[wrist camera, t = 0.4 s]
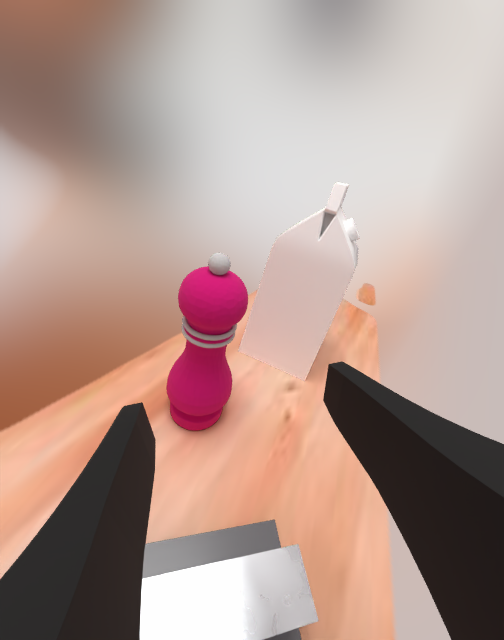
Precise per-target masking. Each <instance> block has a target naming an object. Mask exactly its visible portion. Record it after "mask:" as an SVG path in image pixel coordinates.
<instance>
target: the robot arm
mask: <svg viewBox="0 0 504 640" xmlns="http://www.w3.org/2000/svg"><path fill="white" fill-rule="evenodd" d="M323 401H324V403H325V405H326V407H327V409H328V411H329V413H330V415H331V417H332V419H333V421H334V423H335V424H336V426H337V428H338V429H339V431H340V432H341V434H342V435H343V437H344V438H345V440H346V441H347V443H348V444H349V446H350V448H351V449H352V451H353V452H354V454H355V455H356V457H357V458H358V460H359V461H360V463H361V464H362V466H363V467H364V469H365V470H366V472H367V473H368V475H369V476H370V478H371V479H372V481H373V483H374V484H375V486H376V488H377V489H378V491H379V493H380V495H381V497H382V498H383V500H384V502H385V504H386V506H387V508H388V509H389V511H390V513H391V515H392V517H393V519H394V521H395V523H396V525H397V526H398V528H399V530H400V532H401V534H402V536H403V538H404V540H405V542H406V544H407V546H408V548H409V549H410V552H411V554H412V556H413V558H414V560H415V562H416V564H417V566H418V568H419V570H420V572H421V574H422V576H423V578H424V580H425V582H426V585H427V586H428V589H429V591H430V593H431V595H432V598H433V600H434V602H435V604H436V606H437V609H438V611H439V613H440V615H441V617H442V619H443V622H444V624H445V626H446V628H447V631H448V633H449V635H450V637H451V640H504V444H502V443H499V442H497V441H494V440H492V439H489V438H487V437H484V436H482V435H480V434H477V433H475V432H473V431H470V430H468V429H466V428H464V427H461V426H459V425H457V424H455V423H453V422H451V421H449V420H446V419H444V418H442V417H440V416H438V415H436V414H434V413H432V412H430V411H428V410H426V409H424V408H422V407H421V406H419V405H417V404H415V403H413V402H411V401H409V400H408V399H405V398H404V397H402V396H400V395H399V394H397V393H395V392H393V391H392V390H390V389H388V388H386V387H384V386H383V385H381V384H380V383H378V382H376V381H375V380H373V379H371V378H370V377H368V376H366V375H365V374H363V373H361V372H360V371H358V370H356V369H354V368H353V367H351V366H349V365H348V364H346V363H344V362H338V363H333V364H329V366H328V373H327V379H326V386H325V393H324V399H323ZM154 473H155V437H154V434H153V431H152V429H151V426H150V423H149V420H148V417H147V414H146V411H145V409H144V406H143V403H137V404H132V405H127V406H124V407H123V408H122V409H121V410H120V412H119V414H118V416H117V417H116V419H115V421H114V422H113V424H112V426H111V427H110V429H109V431H108V432H107V434H106V435H105V437H104V439H103V440H102V442H101V443H100V445H99V447H98V448H97V450H96V451H95V453H94V454H93V456H92V457H91V459H90V460H89V462H88V464H87V465H86V467H85V468H84V470H83V471H82V473H81V474H80V476H79V477H78V478H77V480H76V481H75V483H74V484H73V486H72V487H71V488H70V490H69V491H68V493H67V494H66V495H65V497H64V498H63V500H62V501H61V502H60V504H59V505H58V507H57V508H56V509H55V511H54V512H53V514H52V515H51V516H50V518H49V519H48V520H47V522H46V523H45V524H44V526H43V527H42V528H41V529H40V531H39V532H38V533H37V535H36V536H35V537H34V538H33V540H32V541H31V542H30V543H29V545H28V546H27V547H26V549H25V550H24V551H23V552H22V554H21V555H20V556H19V557H18V559H17V560H16V561H15V562H14V563H13V565H12V566H11V567H10V568H9V569H8V571H7V572H6V573H5V574H4V575H3V577H2V578H1V579H0V640H140V620H141V597H142V577H143V562H144V551H145V543H146V535H147V527H148V520H149V512H150V504H151V497H152V489H153V481H154Z"/></svg>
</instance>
